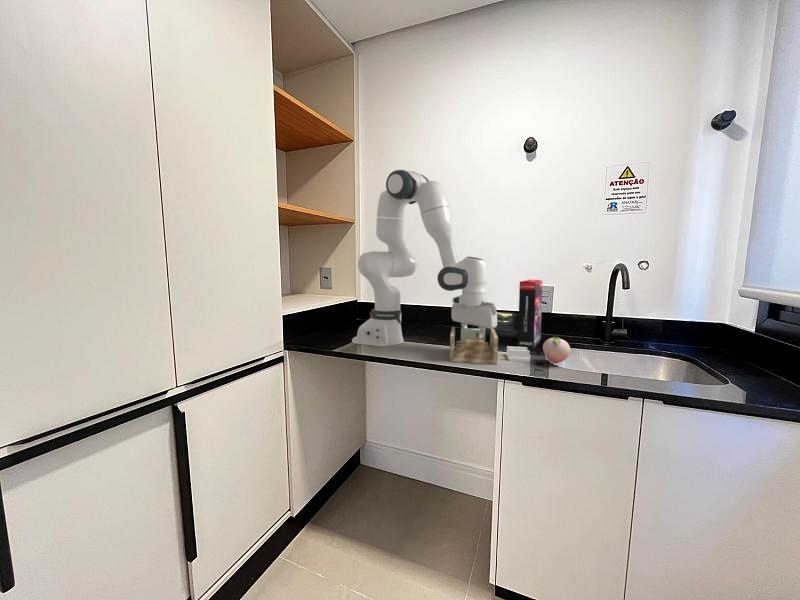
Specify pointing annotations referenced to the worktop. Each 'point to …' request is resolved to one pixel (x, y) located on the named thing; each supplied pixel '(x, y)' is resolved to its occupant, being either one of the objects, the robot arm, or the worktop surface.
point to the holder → (518, 354)
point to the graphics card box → (530, 313)
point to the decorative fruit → (556, 349)
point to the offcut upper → (474, 345)
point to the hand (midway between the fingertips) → (472, 336)
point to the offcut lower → (472, 354)
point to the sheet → (470, 335)
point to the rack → (487, 355)
